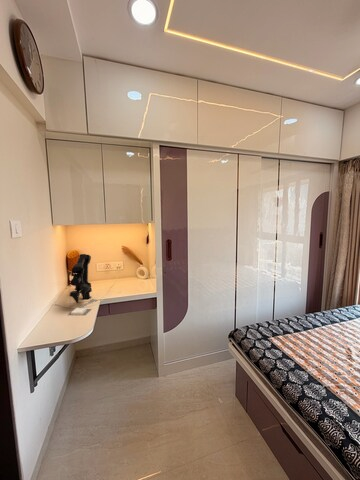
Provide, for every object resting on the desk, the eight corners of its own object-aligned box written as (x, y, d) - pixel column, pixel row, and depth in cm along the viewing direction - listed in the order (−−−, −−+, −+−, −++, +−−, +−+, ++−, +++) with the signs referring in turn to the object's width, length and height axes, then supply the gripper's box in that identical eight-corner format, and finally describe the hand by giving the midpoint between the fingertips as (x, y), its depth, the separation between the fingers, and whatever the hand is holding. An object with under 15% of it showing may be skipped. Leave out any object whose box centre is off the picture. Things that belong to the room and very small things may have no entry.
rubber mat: (74, 309, 161) (74, 308, 161) (92, 309, 160) (91, 308, 160) (67, 315, 151) (67, 315, 151) (85, 316, 150) (85, 315, 150)
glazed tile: (76, 308, 158) (71, 312, 151) (86, 308, 157) (81, 312, 151) (76, 310, 158) (71, 315, 151) (86, 310, 158) (81, 315, 151)
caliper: (92, 298, 178) (98, 299, 176) (92, 300, 178) (98, 300, 176) (74, 309, 158) (80, 309, 157) (74, 310, 158) (80, 311, 157)
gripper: (82, 285, 153) (84, 305, 155) (94, 277, 171) (95, 295, 173) (68, 285, 153) (70, 305, 155) (81, 277, 172) (82, 295, 174)
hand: (80, 300), depth 164 cm, fingers open, 9 cm apart
